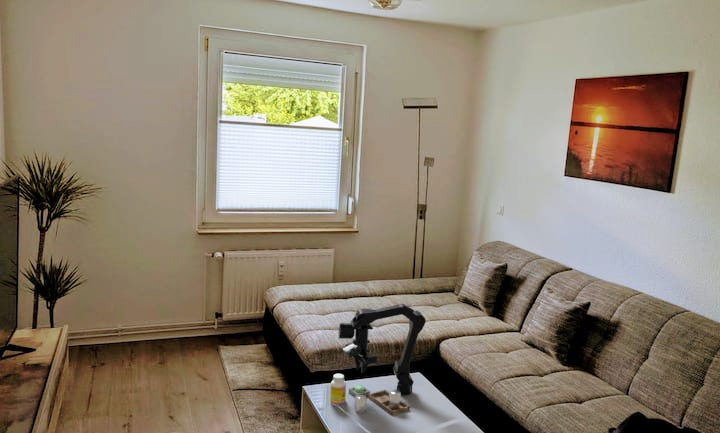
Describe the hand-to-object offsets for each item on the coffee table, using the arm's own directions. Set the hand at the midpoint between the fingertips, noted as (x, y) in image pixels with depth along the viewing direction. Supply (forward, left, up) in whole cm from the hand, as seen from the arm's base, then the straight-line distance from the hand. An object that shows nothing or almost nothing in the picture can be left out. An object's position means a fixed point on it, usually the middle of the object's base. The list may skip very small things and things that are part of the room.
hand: (360, 371), depth 254 cm
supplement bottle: (+12, +1, -12) cm, 17 cm away
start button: (0, 0, -11) cm, 11 cm away
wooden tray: (-6, +14, -12) cm, 19 cm away
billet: (+8, +13, -12) cm, 19 cm away
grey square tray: (0, 0, -12) cm, 12 cm away
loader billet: (-6, +18, -11) cm, 22 cm away
